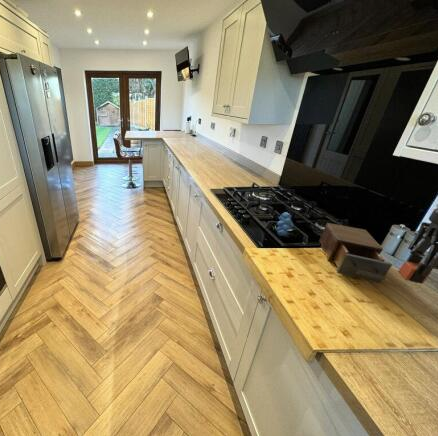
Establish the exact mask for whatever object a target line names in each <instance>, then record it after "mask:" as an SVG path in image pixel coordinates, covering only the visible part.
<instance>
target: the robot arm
mask: <svg viewBox="0 0 438 436" xmlns="http://www.w3.org/2000/svg"><path fill="white" fill-rule="evenodd" d="M435 206H436V208H434V209H433V211H432V212H431V214H430V215H429V217H428V220H429V222H426V221H422V222H421V225H420V227H419V230H417V232H416V234H415V235H414V237H413V238H412V241H411V242H410V244H409V245H408V248H407V249H408V250H409V251H410V252H409V256H408V258H407V259H406V261H408V262H413V263H418V264H419V266H418V267H417V269H416V270H415V272H414V273H413V275H412V276H411V278H410V279H409V280H410V282H412V283H416V284H420V285H421V284H422V282H423V281H424V279H425V278H426V277H427V276H428V275H429V274H430V272H431V273H432V271H433V270H438V203H437V204H436V205H435ZM426 252H427V255H425V253H426ZM424 257H425V259H424ZM423 259H424V261H423V262H422V260H423ZM430 275H431V274H430ZM430 275H429V276H430ZM429 276H428V277H429ZM409 280H408V281H409Z"/></svg>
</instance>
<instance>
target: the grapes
mask: <svg viewBox="0 0 438 436" xmlns="http://www.w3.org/2000/svg"><path fill="white" fill-rule="evenodd" d="M292 218H293V217H292V215H291V213H288V212H287V211H285V212H283V213H282V214H281V215H280V216H279V217H278V219H279V221H277V222H276V225H277V226H278V227H276V229H275V230H276V231H277V235H278V236H279V237H283V236H286V235H288V233H289V232H288V231H290V230H291V229H292V228H293V227H295V225H294V223H293V221H292Z"/></svg>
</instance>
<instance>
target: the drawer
mask: <svg viewBox="0 0 438 436" xmlns="http://www.w3.org/2000/svg"><path fill="white" fill-rule="evenodd" d="M332 258H333V260H334V261H335V262H334V264H335V266H336V267H337V268H336V273H337V274H341V275H345V276H349V277H353V278H357V279H361V280H365V281H370V282H373V283H377V284H381V283H382V282H383V281H384V280H385V279H386V275H387V274H388V272H389V271H390V269H391V267H392V266H393V264H392V262H387V261H386V260H385V258H384V257H383V256H382V255H381V253H380V254H379V253H378V252H377V251H376V250H375V249H370V248H365V247H360V246H355V245H351V244H346V243H341V242H340V243H339V245H338V247H337V249H336V251H335V253H334V255H333V257H332Z"/></svg>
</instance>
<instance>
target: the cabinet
mask: <svg viewBox="0 0 438 436" xmlns="http://www.w3.org/2000/svg"><path fill="white" fill-rule="evenodd" d="M319 242H320V243H321V246H320V248H321V250H322V249H323V250H324V252H325V254H326V256H325V258H326V257H327V258H326V260H327V259H328V260H330V261H329V262H331V261H333V262H332V263H335V261H334V260H333V258H332V257H333V255H334V253H335V251H336V249H337V247H338V245H339V243H340V242H341V243H346V244H351V245H355V246H360V247H365V248H370V249H375V250H376V251H377V252H378V253H379V254H380V255H381V253H382V252H383V250H384V248H383V247H382V245H380V244H379V243H378V241H376V240H375V239H374V237H373V236H372V235H371V234H370V233H369V232H368V230H366V229H365V228H364V229H363V228H357V227H352V226H347V225H341V224H336V223H330V222H326V224H325V226H324V229H323V231H322V233H321V236H320V238H319V240H318V243H319ZM320 243H319V244H320ZM323 250H322V251H323ZM324 252H323V253H324ZM325 254H324V255H325ZM328 260H327V261H328Z"/></svg>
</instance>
